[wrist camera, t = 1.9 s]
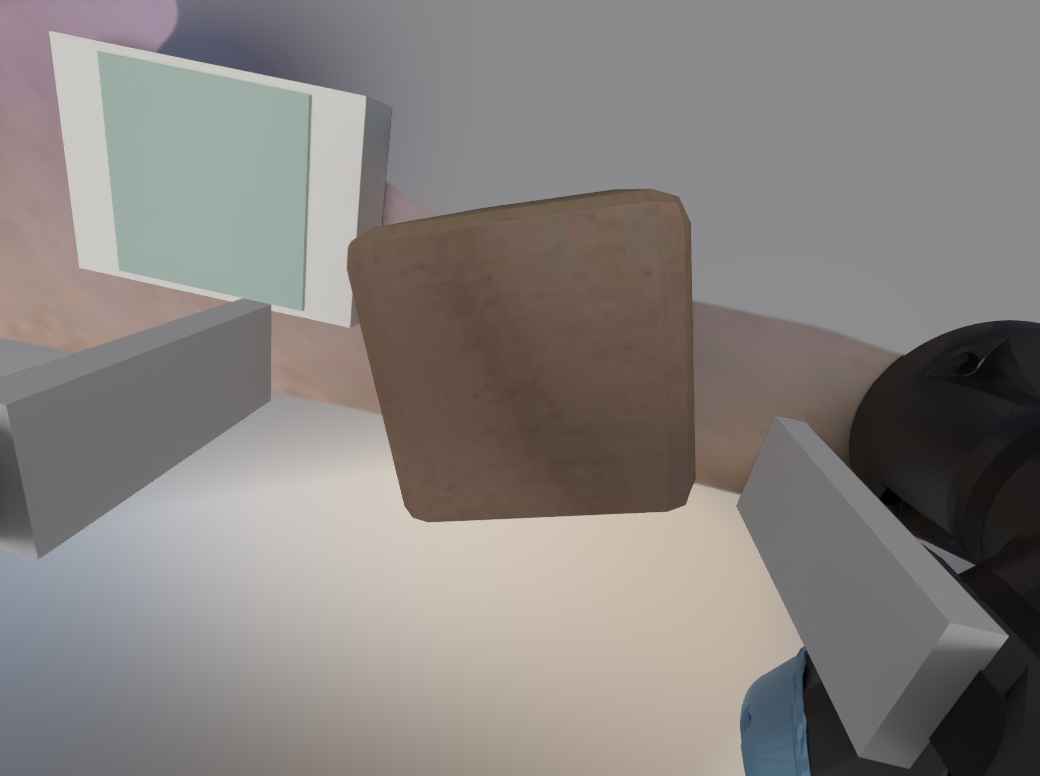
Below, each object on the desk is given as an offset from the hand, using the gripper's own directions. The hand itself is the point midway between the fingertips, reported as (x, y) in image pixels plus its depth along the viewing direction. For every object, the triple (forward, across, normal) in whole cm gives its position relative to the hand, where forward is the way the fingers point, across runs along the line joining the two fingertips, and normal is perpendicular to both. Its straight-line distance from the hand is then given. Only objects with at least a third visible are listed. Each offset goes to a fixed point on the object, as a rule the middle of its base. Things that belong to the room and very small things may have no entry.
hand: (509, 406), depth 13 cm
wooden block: (+22, 0, 0) cm, 22 cm away
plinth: (+22, +21, -1) cm, 30 cm away
